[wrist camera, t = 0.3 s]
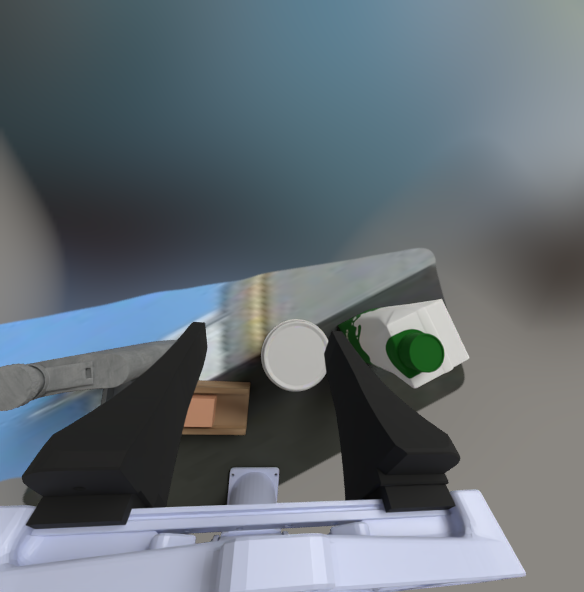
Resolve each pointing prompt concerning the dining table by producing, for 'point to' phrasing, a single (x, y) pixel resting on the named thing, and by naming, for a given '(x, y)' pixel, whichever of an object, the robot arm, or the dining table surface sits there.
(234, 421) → the board
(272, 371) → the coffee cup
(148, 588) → the robot arm
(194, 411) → the tile
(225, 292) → the dining table surface
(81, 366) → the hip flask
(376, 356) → the milk carton
